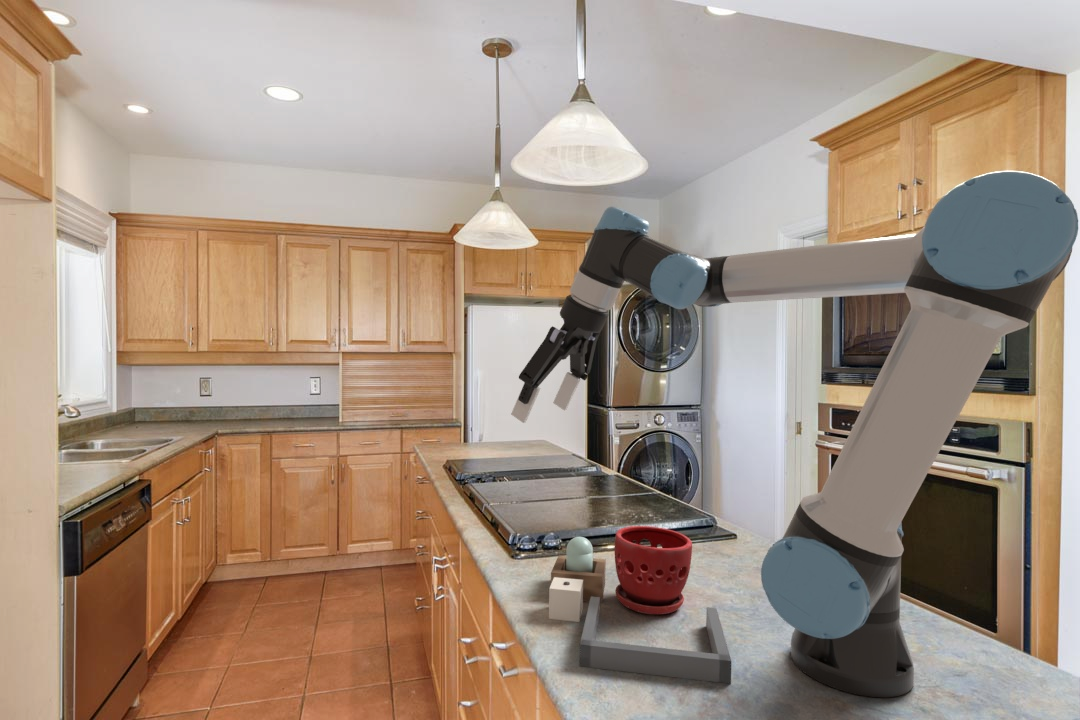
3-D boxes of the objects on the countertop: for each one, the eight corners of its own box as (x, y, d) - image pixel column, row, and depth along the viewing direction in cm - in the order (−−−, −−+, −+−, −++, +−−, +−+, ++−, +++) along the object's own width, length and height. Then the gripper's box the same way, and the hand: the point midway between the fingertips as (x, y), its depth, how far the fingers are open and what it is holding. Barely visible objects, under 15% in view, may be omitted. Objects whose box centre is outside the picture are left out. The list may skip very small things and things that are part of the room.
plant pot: (639, 626, 92) (640, 551, 92) (600, 594, 105) (601, 528, 105) (706, 614, 97) (708, 542, 97) (662, 585, 110) (663, 521, 109)
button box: (605, 583, 110) (605, 559, 110) (601, 602, 101) (602, 576, 101) (557, 578, 112) (558, 555, 111) (550, 597, 103) (551, 572, 103)
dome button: (593, 571, 108) (594, 534, 108) (591, 581, 103) (591, 542, 103) (567, 569, 109) (568, 532, 109) (564, 578, 104) (565, 540, 104)
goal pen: (715, 626, 93) (716, 608, 93) (730, 683, 77) (731, 661, 77) (590, 614, 96) (590, 596, 96) (579, 666, 80) (579, 644, 80)
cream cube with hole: (582, 609, 99) (583, 578, 99) (579, 622, 94) (580, 590, 94) (553, 606, 100) (554, 575, 99) (548, 619, 95) (549, 587, 95)
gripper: (603, 293, 107) (559, 392, 114) (530, 290, 86) (480, 411, 93) (637, 312, 104) (589, 412, 111) (569, 313, 83) (515, 437, 90)
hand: (540, 412), depth 102 cm, fingers open, 13 cm apart
